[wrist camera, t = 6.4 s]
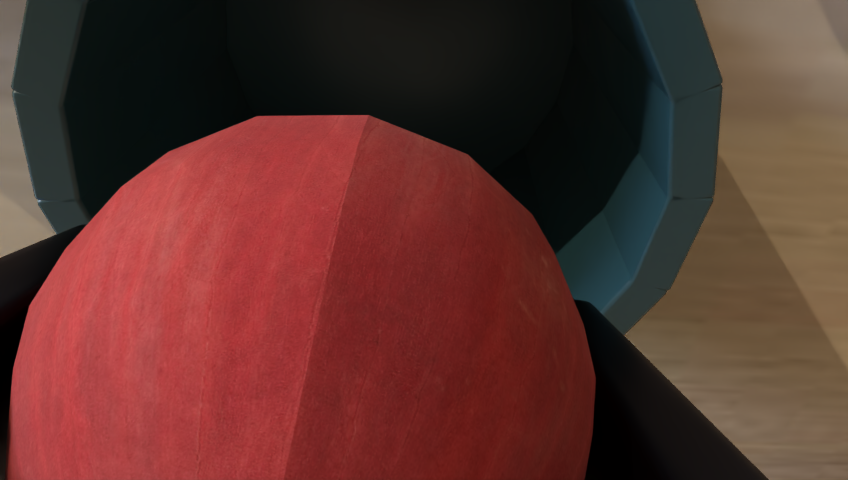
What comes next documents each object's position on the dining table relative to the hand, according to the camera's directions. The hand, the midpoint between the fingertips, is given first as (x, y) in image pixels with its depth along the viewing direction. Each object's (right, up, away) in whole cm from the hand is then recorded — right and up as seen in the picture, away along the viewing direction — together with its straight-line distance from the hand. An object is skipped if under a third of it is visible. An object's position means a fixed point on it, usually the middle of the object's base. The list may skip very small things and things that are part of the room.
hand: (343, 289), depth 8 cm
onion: (0, +1, +2) cm, 2 cm away
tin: (0, +7, +10) cm, 12 cm away
